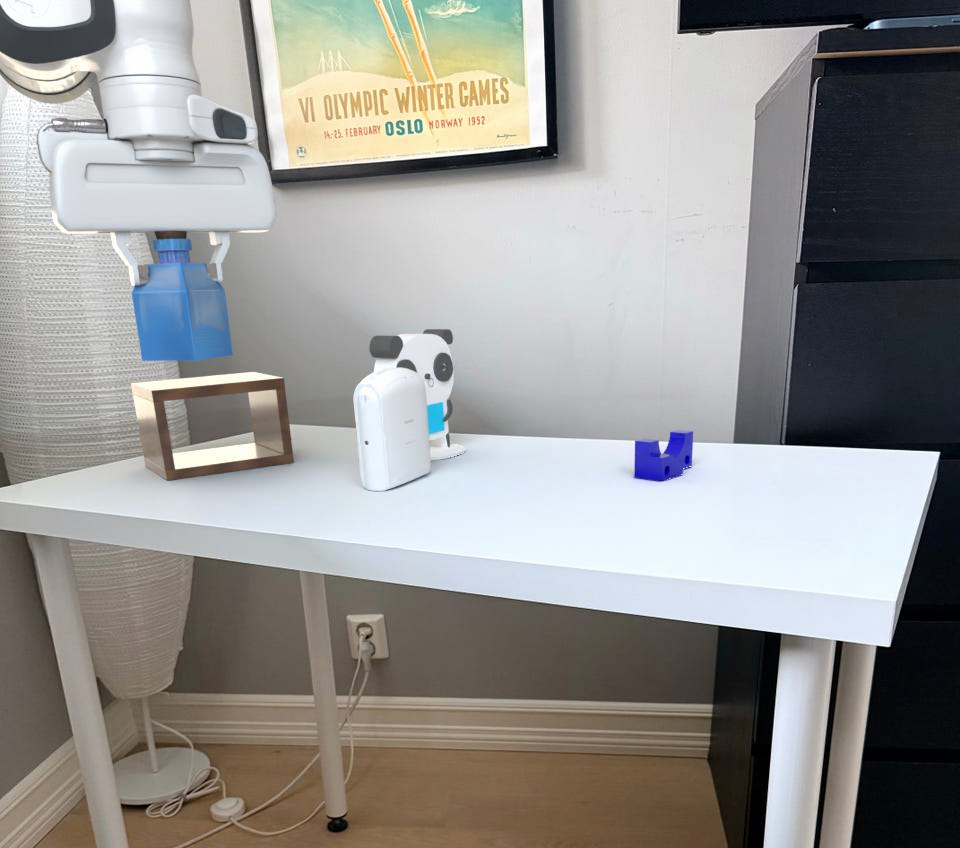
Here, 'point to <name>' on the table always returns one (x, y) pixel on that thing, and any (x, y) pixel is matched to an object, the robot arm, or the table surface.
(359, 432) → the photo printer
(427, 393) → the panda figurine
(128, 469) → the table surface
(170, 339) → the perfume bottle
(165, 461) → the shelf rack
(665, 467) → the cable holder
